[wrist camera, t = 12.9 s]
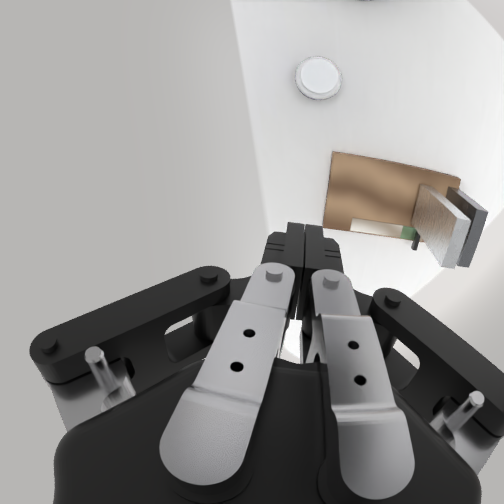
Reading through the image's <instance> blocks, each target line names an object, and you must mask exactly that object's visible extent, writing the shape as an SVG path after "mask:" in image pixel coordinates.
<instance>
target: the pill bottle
mask: <svg viewBox="0 0 504 504" xmlns="http://www.w3.org/2000/svg"><path fill="white" fill-rule="evenodd" d="M295 81H296V84H297V87H298V88H299V90H300V91H301V92H302V93H303V94H304V95H305V96H307V97H308V98H311V99H315V100H322V99H327V98H330V97H332V96H333V95H335V94H336V93H337V92H338V90H339V88H340V86H341V82H342V77H341V73H340V70H339V69H338V67H337V66H336V65H335V64H334V63H333V62H332V61H330V60H329V59H326V58H323V57H310V58H307V59H305V60H304V61H302V62H301V63H300V64H299V66H298V67H297V69H296V73H295Z"/></svg>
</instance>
